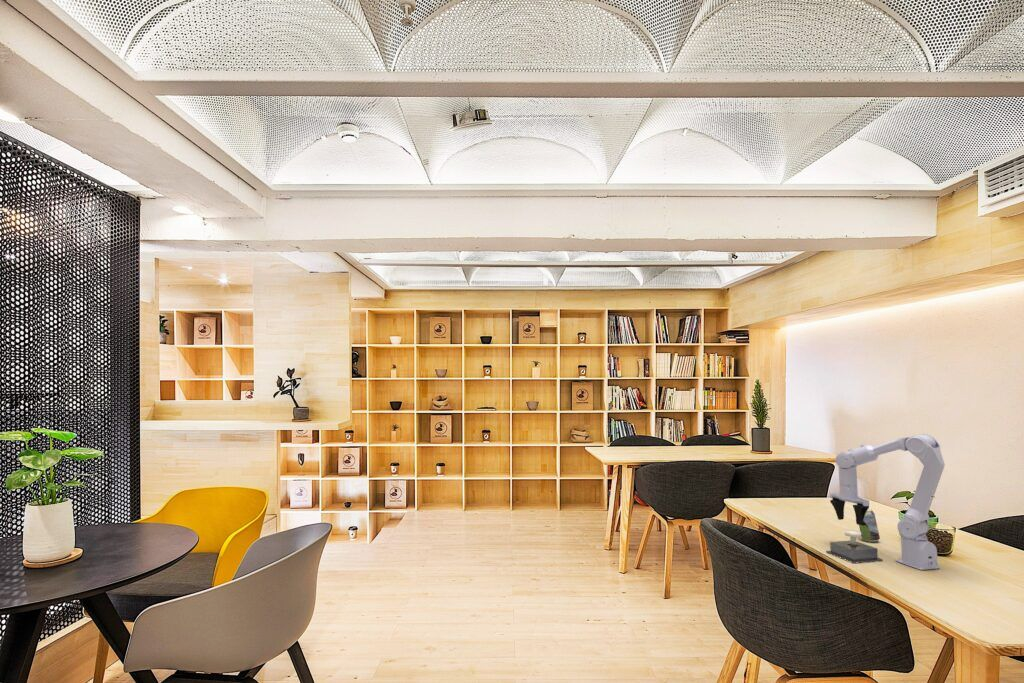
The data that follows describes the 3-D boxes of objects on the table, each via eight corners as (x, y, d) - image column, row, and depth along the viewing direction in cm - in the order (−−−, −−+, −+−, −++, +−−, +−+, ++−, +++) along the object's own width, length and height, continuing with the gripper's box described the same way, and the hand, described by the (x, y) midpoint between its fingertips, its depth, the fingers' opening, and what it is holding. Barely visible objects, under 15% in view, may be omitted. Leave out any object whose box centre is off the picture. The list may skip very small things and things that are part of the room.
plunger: (865, 547, 190) (864, 532, 191) (853, 548, 189) (852, 533, 190) (853, 543, 195) (852, 529, 196) (841, 544, 194) (841, 529, 194)
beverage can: (879, 544, 207) (878, 512, 207) (856, 540, 211) (855, 509, 212) (880, 540, 212) (879, 509, 212) (858, 537, 216) (857, 506, 217)
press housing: (882, 561, 187) (882, 549, 188) (853, 563, 185) (853, 551, 185) (853, 550, 199) (853, 539, 199) (826, 552, 196) (825, 541, 197)
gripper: (874, 487, 197) (876, 525, 196) (838, 480, 211) (840, 516, 210) (860, 488, 195) (862, 527, 194) (825, 481, 208) (826, 517, 207)
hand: (849, 521), depth 202 cm, fingers open, 7 cm apart
